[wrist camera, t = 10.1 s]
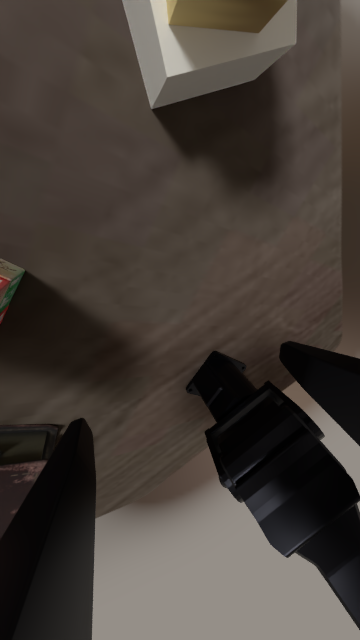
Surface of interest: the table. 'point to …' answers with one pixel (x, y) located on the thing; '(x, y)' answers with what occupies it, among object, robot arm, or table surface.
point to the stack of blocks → (8, 284)
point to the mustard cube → (223, 13)
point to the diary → (21, 464)
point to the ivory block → (202, 51)
